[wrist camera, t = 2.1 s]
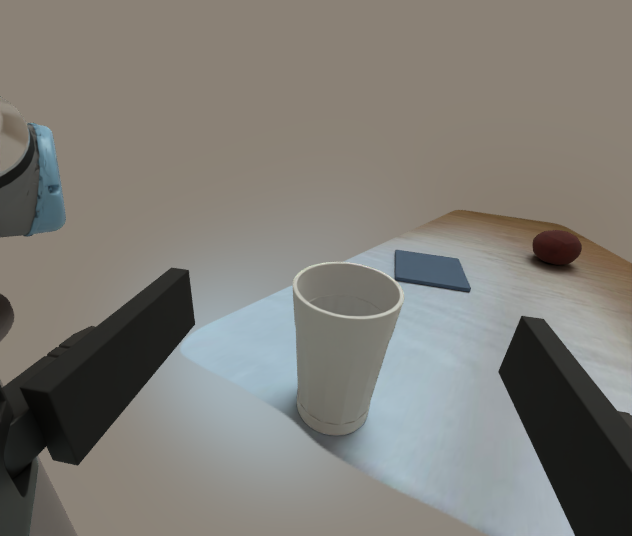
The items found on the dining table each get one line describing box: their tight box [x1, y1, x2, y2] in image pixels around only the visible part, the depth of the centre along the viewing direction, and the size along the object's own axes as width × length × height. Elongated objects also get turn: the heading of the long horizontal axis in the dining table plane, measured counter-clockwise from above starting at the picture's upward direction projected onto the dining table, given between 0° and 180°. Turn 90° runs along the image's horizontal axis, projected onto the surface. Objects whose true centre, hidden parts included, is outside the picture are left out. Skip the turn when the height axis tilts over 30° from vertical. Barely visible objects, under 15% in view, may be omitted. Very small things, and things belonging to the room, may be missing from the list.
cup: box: [293, 262, 404, 436], centre depth 26 cm, size 8×8×12 cm
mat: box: [395, 250, 471, 292], centre depth 55 cm, size 11×11×1 cm
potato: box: [533, 230, 582, 265], centre depth 60 cm, size 7×8×6 cm
